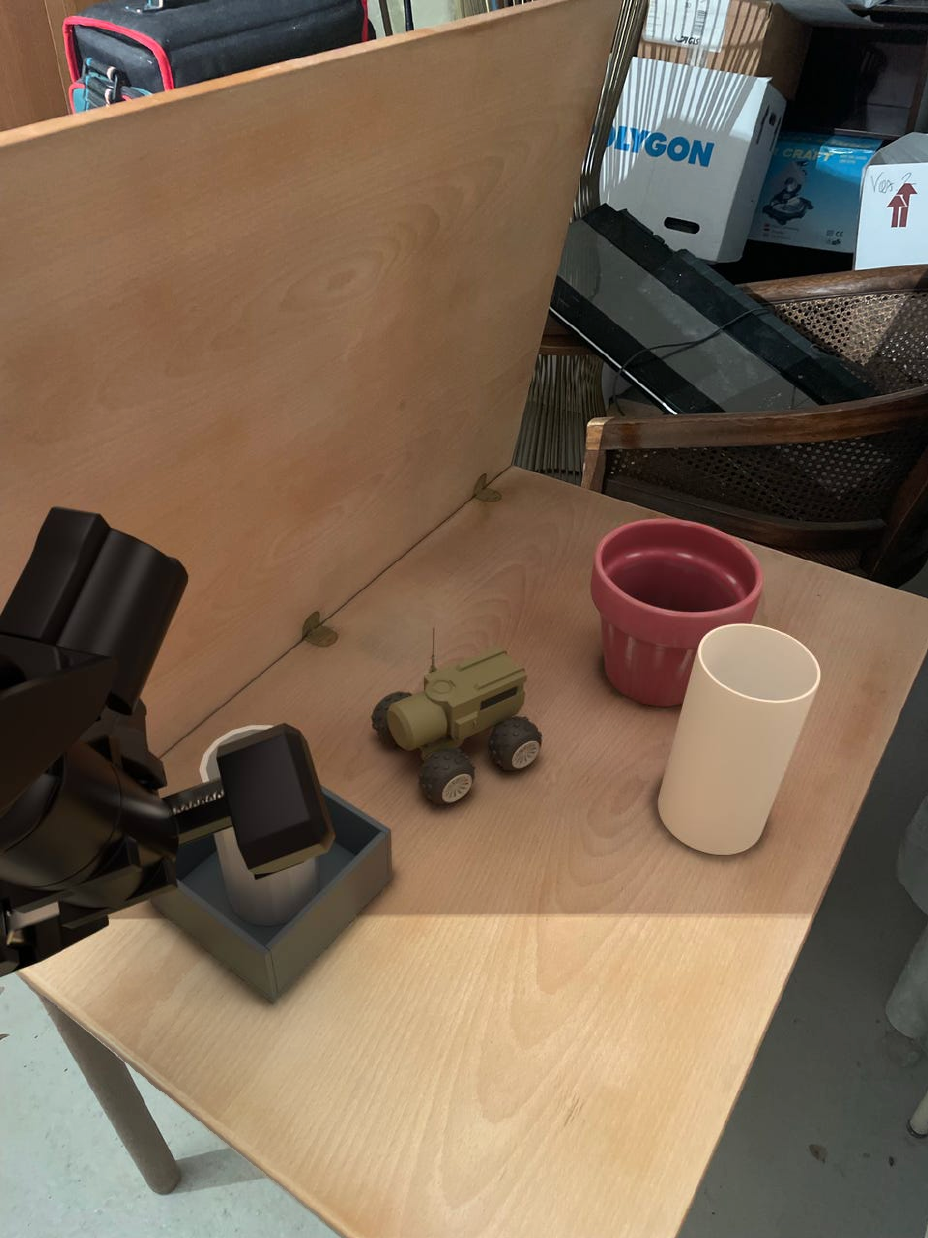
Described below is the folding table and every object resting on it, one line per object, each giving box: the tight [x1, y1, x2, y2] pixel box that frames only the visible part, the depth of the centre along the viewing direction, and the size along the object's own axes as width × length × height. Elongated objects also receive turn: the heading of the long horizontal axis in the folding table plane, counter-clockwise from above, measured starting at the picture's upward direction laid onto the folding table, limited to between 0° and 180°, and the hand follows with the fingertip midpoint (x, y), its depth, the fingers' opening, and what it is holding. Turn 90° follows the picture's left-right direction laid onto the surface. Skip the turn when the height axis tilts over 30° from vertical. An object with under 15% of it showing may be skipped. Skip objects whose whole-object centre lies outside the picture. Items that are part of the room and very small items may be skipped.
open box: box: [149, 784, 393, 1004], centre depth 63 cm, size 12×12×6 cm
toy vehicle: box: [370, 626, 543, 805], centre depth 72 cm, size 10×11×12 cm
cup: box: [657, 623, 821, 856], centre depth 66 cm, size 8×8×16 cm
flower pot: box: [590, 518, 764, 707], centre depth 80 cm, size 14×14×13 cm
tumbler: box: [198, 724, 319, 926], centre depth 60 cm, size 6×6×13 cm
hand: (187, 886), depth 49 cm, fingers open, 9 cm apart
